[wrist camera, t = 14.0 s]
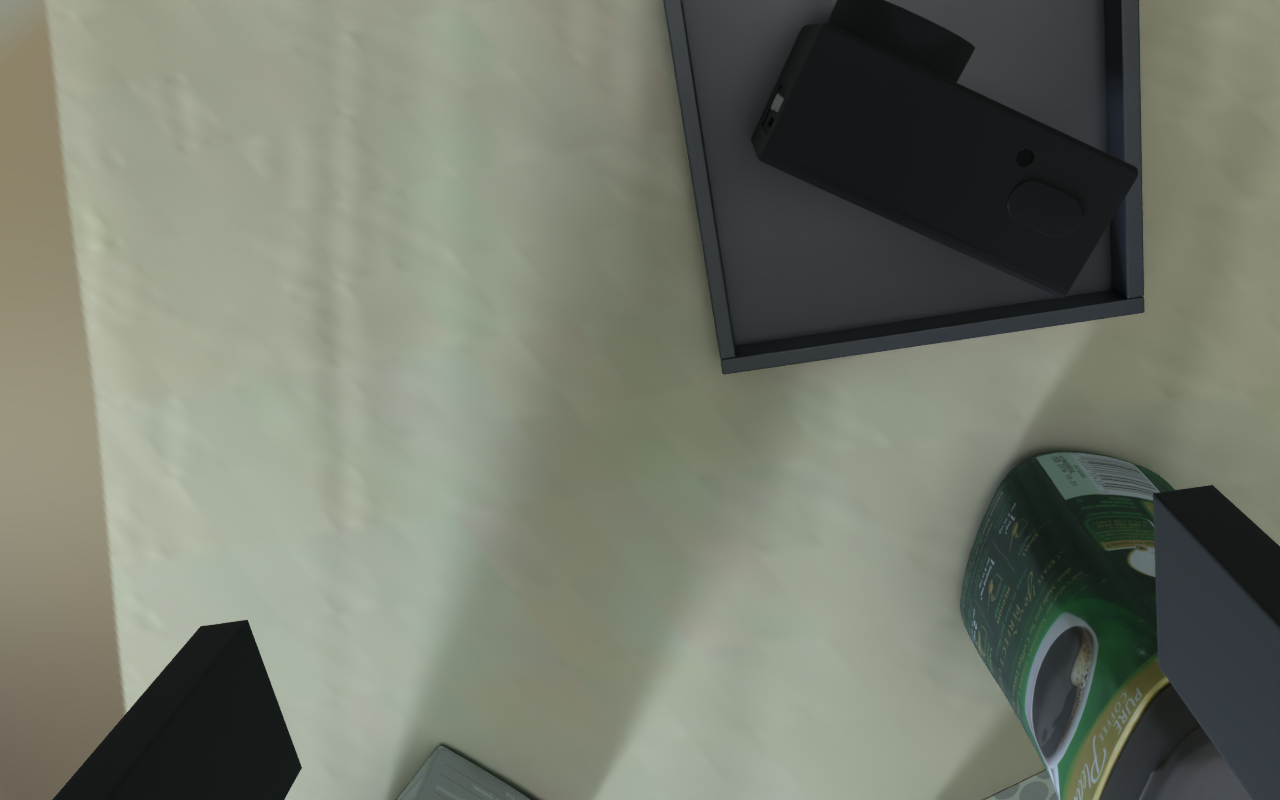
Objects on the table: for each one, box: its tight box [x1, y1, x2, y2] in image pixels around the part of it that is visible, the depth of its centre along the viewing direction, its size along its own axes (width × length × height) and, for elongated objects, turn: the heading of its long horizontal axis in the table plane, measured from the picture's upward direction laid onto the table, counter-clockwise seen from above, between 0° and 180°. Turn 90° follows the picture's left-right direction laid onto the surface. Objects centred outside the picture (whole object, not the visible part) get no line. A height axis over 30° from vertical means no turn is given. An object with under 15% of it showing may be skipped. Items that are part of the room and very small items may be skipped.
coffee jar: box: [960, 452, 1252, 800], centre depth 33 cm, size 10×8×19 cm
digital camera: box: [751, 0, 1138, 299], centre depth 33 cm, size 10×5×7 cm, turn 66°
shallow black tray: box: [663, 0, 1144, 374], centre depth 36 cm, size 15×15×2 cm
